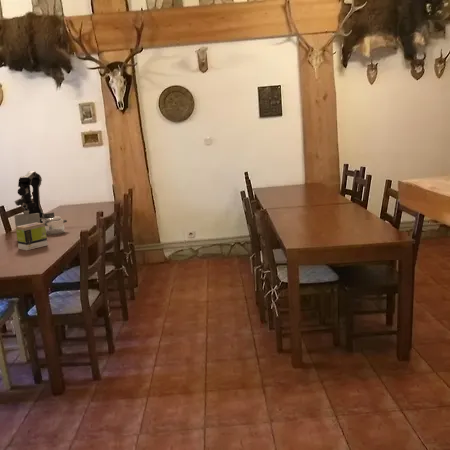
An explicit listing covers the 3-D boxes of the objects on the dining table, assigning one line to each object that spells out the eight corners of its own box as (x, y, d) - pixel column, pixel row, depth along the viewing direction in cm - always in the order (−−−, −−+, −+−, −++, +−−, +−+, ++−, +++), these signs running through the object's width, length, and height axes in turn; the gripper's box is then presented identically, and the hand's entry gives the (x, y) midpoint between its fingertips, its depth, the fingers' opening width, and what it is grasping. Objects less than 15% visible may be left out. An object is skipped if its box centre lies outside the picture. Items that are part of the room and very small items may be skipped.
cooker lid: (38, 219, 381) (38, 214, 380) (57, 217, 389) (56, 211, 388) (45, 222, 370) (44, 216, 369) (64, 219, 378) (63, 213, 377)
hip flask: (42, 238, 361) (38, 209, 358) (41, 239, 358) (38, 210, 354) (17, 240, 358) (14, 211, 354) (16, 241, 354) (13, 212, 350)
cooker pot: (39, 233, 377) (38, 221, 375) (63, 229, 387) (62, 217, 386) (46, 236, 367) (44, 223, 365) (70, 232, 377) (69, 219, 376)
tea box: (39, 244, 343) (36, 221, 340) (48, 245, 336) (45, 223, 333) (18, 248, 331) (15, 225, 328) (26, 250, 325) (23, 227, 322)
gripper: (11, 194, 377) (13, 215, 380) (19, 196, 362) (21, 218, 365) (26, 192, 383) (29, 213, 386) (35, 194, 369) (37, 216, 372)
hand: (29, 215), depth 377 cm, fingers open, 6 cm apart
